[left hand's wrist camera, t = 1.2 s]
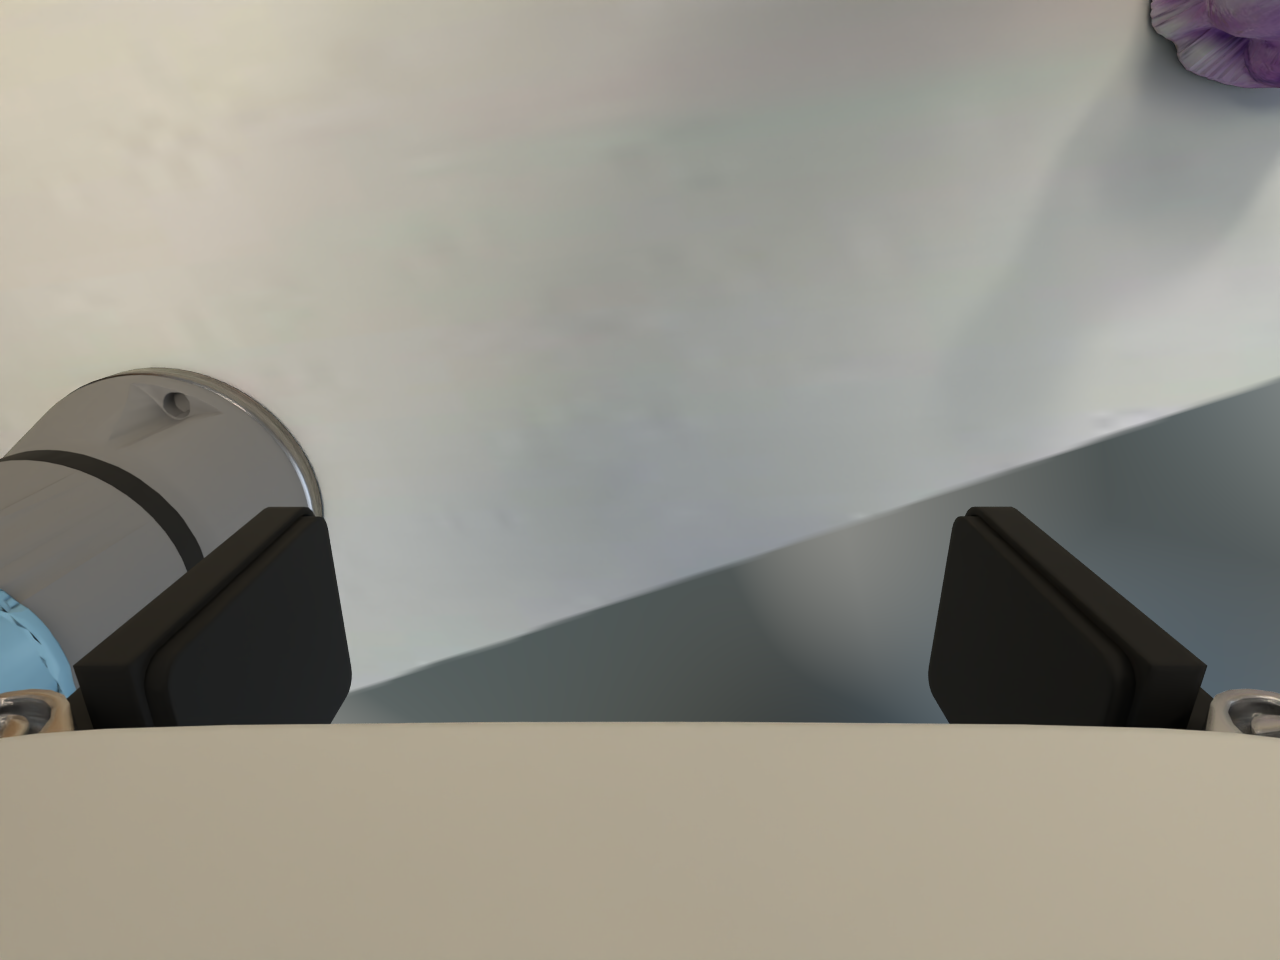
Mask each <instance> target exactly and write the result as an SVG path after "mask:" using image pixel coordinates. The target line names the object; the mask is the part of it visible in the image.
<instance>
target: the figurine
mask: <svg viewBox="0 0 1280 960" xmlns="http://www.w3.org/2000/svg"><path fill="white" fill-rule="evenodd" d="M1152 1H1153V2H1152V3H1151V9H1152V11H1151V14H1150V15H1151V17H1152V25H1153V27H1154V29H1155V30H1156V32H1157V33H1158V34H1160V35H1163V36H1164V37H1165V38H1166V39H1168V40H1171V41H1172V42H1173V43H1174V44H1175V46H1176V49H1177V51H1178V52H1177V57H1178V59H1179V61H1180V62H1181V63H1182V65H1183V66H1184V67H1185V68H1186V70H1189V71H1192V72H1193V73H1194V74H1197V75H1199V76H1202V77H1207V78H1208V79H1209V80H1215V81H1218V82H1220V83H1223V84H1226V85H1234V86H1238V87H1243V88H1280V0H1152Z"/></svg>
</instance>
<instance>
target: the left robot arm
mask: <svg viewBox="0 0 1280 960" xmlns="http://www.w3.org/2000/svg"><path fill="white" fill-rule="evenodd" d="M73 668H74V671H75V674H76V677H77V680H78V683H79V686H80V687H79V688H78V689H77V690H76V691H75V692H74V693H72V694H71V695H70V696H69V697H68V698H67V699H66V697H65V696H64V695H63V694H60V693H58V692H55V691H53V690H45V689H26V690H18V691H10V692H5V693H1V694H0V960H1280V694H1279V693H1275V692H1270V691H1262V690H1254V689H1235V690H1228V691H1225V692H1222V693H1220V694H1217V695H1216V696H1215V697H1214V699H1213V698H1212V697H1211V696H1210V695H1209V694H1208V693H1206V692H1205V691H1204V690H1203V689H1202V688H1201V687H1200V686H1201V683H1202V680H1203V677H1204V674H1205V671H1206V668H1207V665H1206V664H1205V663H1203V662H1202V661H1201V660H1200V659H1198V658H1197V657H1196V656H1195V655H1194V654H1192V653H1191V652H1190V651H1189V650H1187V649H1186V648H1185V647H1184V646H1183V645H1181V644H1180V643H1179V642H1178V641H1176V640H1175V639H1174V638H1173V637H1172V636H1170V635H1169V634H1168V633H1167V632H1165V631H1164V630H1163V629H1162V628H1161V627H1159V626H1158V625H1157V624H1156V623H1155V622H1153V621H1152V620H1151V619H1150V618H1148V617H1147V616H1146V615H1145V614H1144V613H1142V612H1141V611H1140V610H1139V609H1137V608H1136V607H1135V606H1134V605H1133V604H1131V603H1130V602H1129V601H1128V600H1126V599H1125V598H1124V597H1123V596H1122V595H1120V594H1119V593H1118V592H1117V591H1115V590H1114V589H1113V588H1112V587H1111V586H1109V585H1108V584H1107V583H1106V582H1104V581H1103V580H1102V579H1101V578H1100V577H1098V576H1097V575H1096V574H1095V573H1094V572H1092V571H1091V570H1090V569H1089V568H1087V567H1086V566H1085V565H1084V564H1083V563H1081V562H1080V561H1079V560H1078V559H1076V558H1075V557H1074V556H1073V555H1072V554H1070V553H1069V552H1068V551H1067V550H1065V549H1064V548H1063V547H1062V546H1061V545H1059V544H1058V543H1057V542H1056V541H1054V540H1053V539H1052V538H1051V537H1050V536H1048V535H1047V534H1046V533H1045V532H1044V531H1042V530H1041V529H1040V528H1039V527H1037V526H1036V525H1035V524H1034V523H1033V522H1031V521H1030V520H1029V519H1028V518H1026V517H1025V516H1024V515H1023V514H1021V513H1020V512H1019V511H1018V510H1017V509H1015V508H1013V507H971V508H970V509H969V510H968V511H967V513H966V515H965V516H960V517H958V518H956V520H955V522H954V524H953V528H952V533H951V539H950V545H949V551H948V557H947V562H946V568H945V575H944V580H943V586H942V592H941V598H940V604H939V610H938V616H937V622H936V628H935V634H934V640H933V646H932V652H931V657H930V663H929V671H928V678H929V686H930V689H931V692H932V694H933V697H934V698H935V700H936V701H937V703H938V705H939V707H940V708H941V710H942V712H943V713H944V715H945V717H946V719H947V720H948V722H949V724H898V723H781V722H471V723H377V724H331V722H332V720H333V718H334V717H335V715H336V713H337V712H338V710H339V708H340V707H341V705H342V703H343V702H344V700H345V698H346V697H347V694H348V692H349V689H350V686H351V679H352V671H351V663H350V658H349V652H348V646H347V640H346V634H345V628H344V622H343V616H342V610H341V604H340V598H339V592H338V586H337V580H336V574H335V568H334V562H333V557H332V551H331V545H330V539H329V533H328V528H327V524H326V522H325V520H324V518H322V517H320V516H315V515H314V513H313V511H312V510H311V509H310V508H309V507H267V508H265V509H263V510H262V511H261V512H260V513H258V514H257V515H256V516H255V517H254V518H252V519H251V520H250V521H249V522H247V523H246V524H245V525H244V526H243V527H241V528H240V529H239V530H238V531H236V532H235V533H234V534H233V535H232V536H230V537H229V538H228V539H227V540H225V541H224V542H223V543H222V544H221V545H219V546H218V547H217V548H216V549H215V550H213V551H212V552H211V553H210V554H208V555H207V556H206V557H205V558H204V559H202V560H201V561H200V562H199V563H197V564H196V565H195V566H194V567H193V568H191V569H190V570H189V571H188V572H186V573H185V574H184V575H183V576H182V577H180V578H179V579H178V580H177V581H175V582H174V583H173V584H172V585H171V586H169V587H168V588H167V589H166V590H165V591H163V592H162V593H161V594H160V595H158V596H157V597H156V598H155V599H154V600H152V601H151V602H150V603H149V604H147V605H146V606H145V607H144V608H143V609H141V610H140V611H139V612H138V613H136V614H135V615H134V616H133V617H132V618H130V619H129V620H128V621H127V622H125V623H124V624H123V625H122V626H121V627H119V628H118V629H117V630H116V631H114V632H113V633H112V634H111V635H110V636H108V637H107V638H106V639H105V640H104V641H102V642H101V643H100V644H99V645H97V646H96V647H95V648H94V649H93V650H91V651H90V652H89V653H88V654H86V655H85V656H84V657H83V658H82V659H80V660H79V661H78V662H77V663H75V664H74V665H73Z"/></svg>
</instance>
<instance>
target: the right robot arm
mask: <svg viewBox="0 0 1280 960" xmlns="http://www.w3.org/2000/svg"><path fill="white" fill-rule="evenodd" d="M267 507H309V508H310V509H311V510H312V511H313V513H314V515H315V516H320V517H322V505H321V499H320V493H319V489H318V486H317V482H316V479H315V476H314V474H313V471H312V469H311V467H310V465H309V462H308V460H307V458H306V456H305V455H304V453H303V452H302V450H301V448H300V447H299V445H298V444H297V442H296V441H295V440H294V438H293V437H292V435H291V434H290V433H289V432H288V431H287V429H286V428H285V427H284V426H283V425H282V424H281V423H280V422H279V421H278V420H277V419H276V418H275V417H274V416H273V415H272V414H271V413H270V412H269V411H267V410H266V409H265V408H264V407H263V406H261V405H260V404H259V403H258V402H256V401H255V400H253V399H252V398H250V397H249V396H247V395H246V394H244V393H242V392H241V391H239V390H237V389H236V388H234V387H232V386H230V385H227V384H225V383H223V382H221V381H219V380H216V379H213V378H211V377H208V376H205V375H202V374H198V373H195V372H190V371H185V370H180V369H171V368H142V369H134V370H129V371H124V372H121V373H118V374H115V375H112V376H108V377H105V378H102V379H99V380H96V381H93V382H91V383H88V384H86V385H84V386H82V387H80V388H78V389H77V390H75V391H73V392H72V393H70V394H69V395H67V396H66V397H65V398H63V399H62V400H60V401H59V402H58V403H56V404H55V405H54V406H53V407H52V408H51V409H49V410H48V412H47V413H46V414H45V415H44V416H43V417H42V418H41V419H40V420H39V421H38V422H37V423H36V424H35V425H34V426H33V427H32V428H31V429H30V430H29V431H28V432H27V433H26V434H25V435H24V436H23V437H22V438H21V439H20V440H19V442H18V443H17V444H16V445H15V446H14V447H13V448H12V449H11V450H10V451H9V452H8V453H7V454H6V455H5V456H4V457H3V458H1V459H0V694H1V693H5V692H10V691H18V690H26V689H45V690H53V691H55V692H58V693H60V694H63V695H64V696H65V697H66V699H67V698H68V697H69V696H70V695H71V694H72V693H74V692H75V691H76V690H77V689H78V688H79V687H80V686H79V683H78V680H77V677H76V674H75V671H74V668H73V665H74V664H75V663H77V662H78V661H79V660H80V659H82V658H83V657H84V656H85V655H86V654H88V653H89V652H90V651H91V650H93V649H94V648H95V647H96V646H97V645H99V644H100V643H101V642H102V641H104V640H105V639H106V638H107V637H108V636H110V635H111V634H112V633H113V632H114V631H116V630H117V629H118V628H119V627H121V626H122V625H123V624H124V623H125V622H127V621H128V620H129V619H130V618H132V617H133V616H134V615H135V614H136V613H138V612H139V611H140V610H141V609H143V608H144V607H145V606H146V605H147V604H149V603H150V602H151V601H152V600H154V599H155V598H156V597H157V596H158V595H160V594H161V593H162V592H163V591H165V590H166V589H167V588H168V587H169V586H171V585H172V584H173V583H174V582H175V581H177V580H178V579H179V578H180V577H182V576H183V575H184V574H185V573H186V572H188V571H189V570H190V569H191V568H193V567H194V566H195V565H196V564H197V563H199V562H200V561H201V560H202V559H204V558H205V557H206V556H207V555H208V554H210V553H211V552H212V551H213V550H215V549H216V548H217V547H218V546H219V545H221V544H222V543H223V542H224V541H225V540H227V539H228V538H229V537H230V536H232V535H233V534H234V533H235V532H236V531H238V530H239V529H240V528H241V527H243V526H244V525H245V524H246V523H247V522H249V521H250V520H251V519H252V518H254V517H255V516H256V515H257V514H258V513H260V512H261V511H262V510H263V509H265V508H267Z"/></svg>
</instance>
